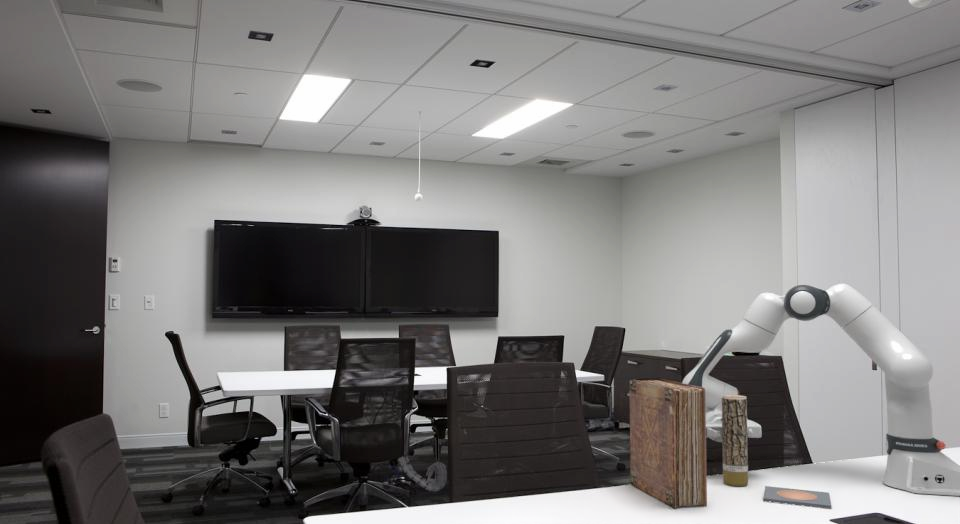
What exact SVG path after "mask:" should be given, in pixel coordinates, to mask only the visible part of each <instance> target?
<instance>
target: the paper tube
mask: <svg viewBox="0 0 960 524" xmlns="http://www.w3.org/2000/svg"><path fill="white" fill-rule="evenodd" d="M747 418H748V400H747V396H745V395H741V394H740V395H722V442H721V443H722V445H721V446H722V482H723V484H724V485H728V486H732V487H746V486H747V485H748V484H749V456H748V452H749V451H748V449H749V447H748V445H749V444H748V438H747Z"/></svg>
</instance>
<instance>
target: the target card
mask: <svg viewBox="0 0 960 524" xmlns="http://www.w3.org/2000/svg"><path fill="white" fill-rule="evenodd" d="M762 500H763V502H765V501H771V502H770V503H774V502H780V503H779V504H783V503H787V504H786V505H792V504H795V506H801V505H804V506H803V507H810V506H812V507H811V508H818V507H820V509H827V510H828V509H830V510H832V501H831V496H830V492H828V491H827V492H826V491H818V490H817V491H816V490H806V489H798V488H789V487H778V486H777V487H776V486H768V485H765V486H764V491H763V497H762Z"/></svg>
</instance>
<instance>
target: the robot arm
mask: <svg viewBox="0 0 960 524" xmlns="http://www.w3.org/2000/svg"><path fill="white" fill-rule="evenodd" d="M823 315H824V316H827V317H829V318H831V319H832V320H833V321H834V322H835V323H836V324H837V325H838V326H839V327H840V329H842V330H843V331H844V333H845V334H847V336H849V338H851V340H853V342H855V344H856V345H857V346H858V347H859V348H860V349H861V350H862V352H864V353H865V354H866V355H867V356H868V357H869V359H871V361H873V363H875V364H876V365H877V367H879V369H880V370H881V371H883V373H884V383H885V398H886V411H887V413H886V415H887V416H886V417H887V418H886V419H887V420H886V421H887V433H886V437H885V451H886V454H887V459H886V468H885V471H884V472H885V473H884V477H883V479H882V484H884V485H886V486H889V487H892V488H895V489H899V490H902V491H903V490H904V491H907V492H909V493H914V494H920V495H922V494H923V495H939V496H940V495H941V496H953V497H954V496H955V497H956V496H957V497H960V465H959V464H958V463H957V462H955V461H954V460H952V459H951V458H950V457H949V456H948V455H946V454H945V453H943V452H942V451H943V450H944V449H946V448H947V447H946V443H944V441H942V440H939V439H938V438H937V439H936V438H935V437H934V435H933V411H932V410H933V408H932V402H931V396H930V395H931V394H930V382H931V381H932V379H933V375H934V369H933V364H932V362H931V360H930V359H929V358H928V357H927V355H925V354H924V353H923V352H922V351H921V350H920V349H919V348H918V347H917V346H916V345H915V344H914V343H913V342H912V341H911V340H910V339H908V338H907V337H906V336H905V334H903V333H902V332H901V331H900V330H899V329H898V328H897V327H896V326H895V325H894V324H893V323H892V322H891V321H890V319H888V318H887V317H886V316H885V315H884V314H883V313H882V312H881V311H880V310H879V309H878V308H877V307H876V306H875V305H873V303H872V302H871V301H870V300H869V299H867V298H866V297H865V296H864V295H863V294H861V293H860V292H859V291H858V290H856V289H855V288H854V287H852V286H851V285H848V284H847V283H838V284H834V285H832V286H831V287H829V288H827V289H826V290H825V289H821V288H817V287H816V286H815V287H814V286H812V285H810V284H799V285H796V286H793V287H791V288H790V289H789V290H788V291H787V292H786V294H784V295H779V294H776V293H773V292H762V293H760V294H758V295H757V296H756V298H754V300H753V302H752V303H751V304H750V306H749V307H748V308H747V310H746V311H745V314H744V316H743V318H742V319H741V320H740V322H739V323H738V324H737V325H736V326H734V327H733V328H731V329H725V330H724V331H723V332H722V333H721V334H719V336H718V337H716V339H715V340H714V342H712V344H711V345H710V346H709V348H708V349H707V350H706V352H705V353H704V354H703V355H702V357H701V358H700V359H699V361H698V362H697V363H696V364H695V366H693V368H692V369H691V370H690V371H689V372H688V373H687V374H686V375H685V376H684V377H683V379H682V382H681V383H684V384H689V385H694V386H699V387H704V388H705V399H706V439H707V438H709V439H711V440H712V441H714V442H717V443H718V442H719V443H722V395H741V394H740V391H739V389H738V388H737V387H735V386H733V385H731V384H729V383H726V382H724V381H722V380H719V379H718V378H715V377H713V376H711V375H709V374H710V373H711V372H712V370H713V369H714V368H715V366H717V364H718V362H720V360H721V359H722V358H723V356H724V355H726V354H728V353H736V352H738V353H739V352H740V353H759V352H763V351H765V350H767V349H768V348H769V347H770V346H771V345H772V344H773V341H774V340H775V338H776V336H777V334H778V332H779V330H780V329H781V327H782V325H783V324H784V323H785V321H786V320H789V319H795V320H798V321H802V322H808V321H809V322H810V321H813V320H815V319H817V318H819V317H821V316H823ZM762 432H763V431H762V426H761V424H759V423H758V422H755V421H753V420H751V419H748V417H747V439H749V438H750V439H751V438H752V439H753V438H754V439H759V438H762V436H763V433H762Z"/></svg>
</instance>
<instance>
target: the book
mask: <svg viewBox="0 0 960 524" xmlns="http://www.w3.org/2000/svg"><path fill="white" fill-rule="evenodd" d="M628 382H629V383H628V384H629V386H628V387H629V388H628V390H629V393H628V394H629V396H628V397H629V402H628V403H629V466H630V467H629V468H630V469H629V470H630V471H629V472H630V475H629V477H630V485H631V486H633V487H635V488H636V489H638V490H640V491H641V492H643V493H645V494H647V495H648V496H649V497H652V498H654V499H656V500H658V501H659V502H661V503H662V504H664V505H666V506H667V507H670V508H671V509H672V510H676V509H677V507H687V506H692V507H693V506H702V505H703V506H702V507H704V506H705V507H704V508H706V507H707V506H708V500H707V499H708V496H707V495H708V494H707V493H708V489H707V486H708V484H707V482H708V480H707V437H706V399H705V388H704V387H699V386H694V385H689V384H684V383H682V382H678V381H673V380H667V379H663V378H659V377H657V378H630V379H629V380H628Z"/></svg>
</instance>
